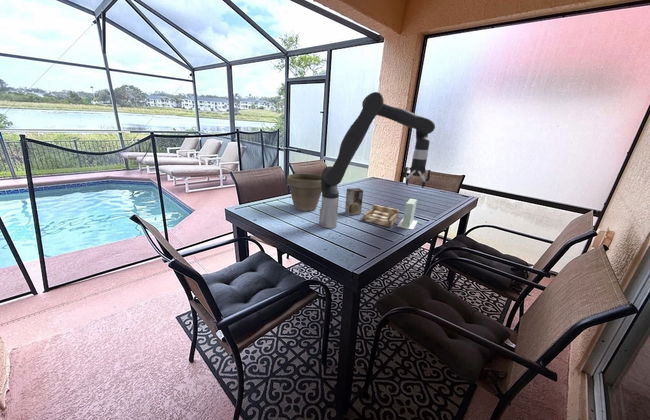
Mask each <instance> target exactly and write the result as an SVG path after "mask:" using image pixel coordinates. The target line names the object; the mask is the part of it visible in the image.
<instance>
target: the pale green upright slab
mask: <svg viewBox="0 0 650 420" xmlns="http://www.w3.org/2000/svg"><path fill="white" fill-rule="evenodd" d="M417 202H418V199H416V198H409V199H408V201H406V202H405V205H404V207H405V208H404V214H403V218H402V219H403V224H402V226H406V227H410V225H411V224H412V222H413V220H415V219H414V218H415V215H416V214H415V213H416V208H417V207H416V206H417Z"/></svg>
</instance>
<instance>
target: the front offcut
mask: <svg viewBox="0 0 650 420" xmlns="http://www.w3.org/2000/svg"><path fill="white" fill-rule="evenodd" d="M371 217H374V218H379V219H383V220H387V217H385V216H381V215H377V214H372V216H371Z"/></svg>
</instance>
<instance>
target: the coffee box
mask: <svg viewBox="0 0 650 420" xmlns="http://www.w3.org/2000/svg"><path fill="white" fill-rule="evenodd" d="M363 195H364V190H363V189H362V188H360V187H354V188H346V195H345V207H344V212H345V213H346V214H347V215H348V216H353V215H354V216H355V215H361V214H362V207H363V197H364V196H363Z"/></svg>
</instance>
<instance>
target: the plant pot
mask: <svg viewBox="0 0 650 420" xmlns="http://www.w3.org/2000/svg"><path fill="white" fill-rule="evenodd" d="M321 176H322V174H321V175H320V174H316V173H304V172H303V173H291V174H288V175H287V177H286V181H287V182H286V183H287V185H288V187H289V191H290V195H291V199H292V203H293V204H292V205H293V207H294V209H295V210H297V211H299V212H313V211H315V210H316V209H317V207H318V205H319V201H320V198H321V197H322V191H321Z"/></svg>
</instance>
